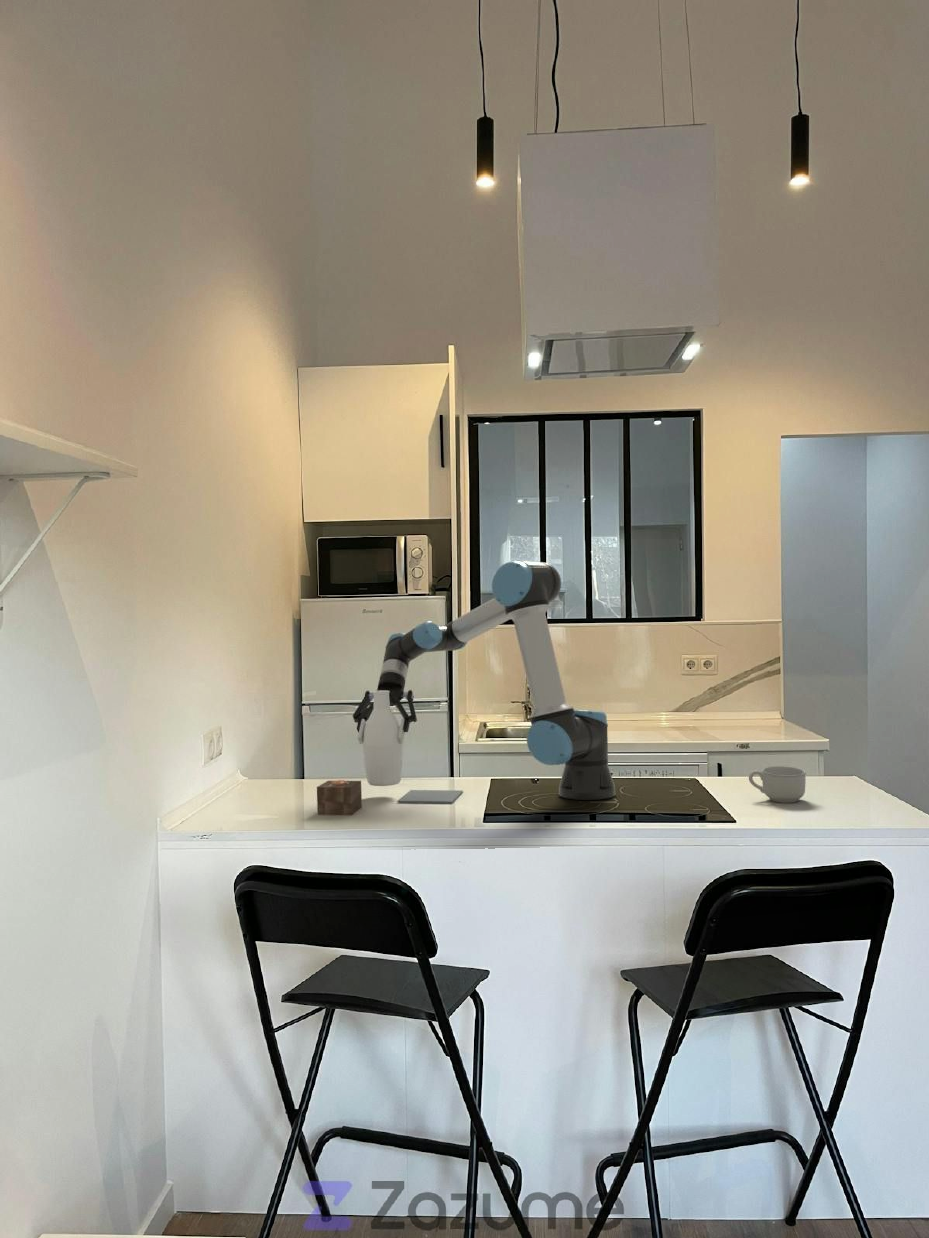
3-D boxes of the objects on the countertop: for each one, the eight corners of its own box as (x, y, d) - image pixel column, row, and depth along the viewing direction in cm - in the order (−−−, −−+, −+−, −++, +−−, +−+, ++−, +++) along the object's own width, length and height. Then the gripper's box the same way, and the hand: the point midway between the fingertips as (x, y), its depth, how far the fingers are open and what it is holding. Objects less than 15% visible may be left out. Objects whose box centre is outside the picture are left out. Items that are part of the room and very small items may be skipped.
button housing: (361, 807, 251) (361, 780, 251) (351, 814, 242) (350, 787, 242) (329, 806, 253) (328, 780, 252) (317, 814, 244) (316, 786, 244)
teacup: (808, 797, 248) (807, 766, 248) (804, 806, 238) (803, 774, 238) (753, 794, 254) (752, 764, 254) (746, 802, 244) (746, 771, 244)
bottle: (355, 785, 262) (352, 692, 262) (381, 778, 271) (378, 688, 271) (387, 788, 256) (384, 693, 256) (412, 781, 265) (409, 689, 265)
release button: (350, 801, 249) (349, 780, 249) (345, 805, 245) (344, 783, 245) (334, 801, 250) (333, 779, 250) (328, 804, 245) (328, 783, 245)
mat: (463, 792, 267) (463, 790, 267) (452, 803, 252) (452, 801, 252) (410, 792, 270) (410, 789, 270) (397, 803, 255) (397, 800, 255)
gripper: (434, 686, 276) (423, 748, 261) (357, 688, 281) (342, 749, 266) (429, 669, 271) (418, 731, 256) (351, 671, 275) (335, 732, 260)
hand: (380, 740), depth 261 cm, fingers closed on bottle, 11 cm apart
